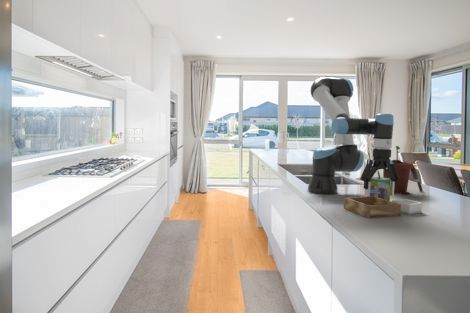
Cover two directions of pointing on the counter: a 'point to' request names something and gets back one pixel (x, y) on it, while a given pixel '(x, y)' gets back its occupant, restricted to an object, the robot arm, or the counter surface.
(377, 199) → the crate
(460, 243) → the counter surface
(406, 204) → the white tub
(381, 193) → the chalk box
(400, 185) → the potted plant
